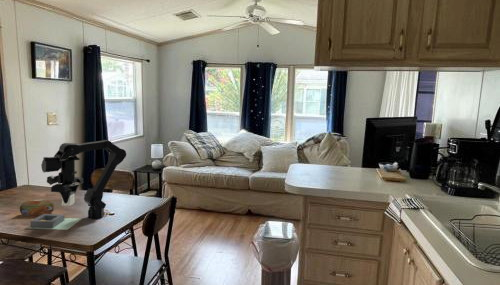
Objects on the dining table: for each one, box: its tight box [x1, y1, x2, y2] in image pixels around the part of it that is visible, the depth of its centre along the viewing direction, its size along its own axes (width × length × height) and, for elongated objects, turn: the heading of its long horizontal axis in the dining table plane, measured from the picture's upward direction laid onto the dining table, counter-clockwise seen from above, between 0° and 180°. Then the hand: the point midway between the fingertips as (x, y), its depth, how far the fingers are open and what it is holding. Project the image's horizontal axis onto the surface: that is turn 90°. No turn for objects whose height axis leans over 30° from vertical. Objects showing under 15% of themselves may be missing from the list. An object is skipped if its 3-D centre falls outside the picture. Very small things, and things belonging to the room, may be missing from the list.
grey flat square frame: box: [30, 213, 65, 229], centre depth 151 cm, size 10×10×3 cm
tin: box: [19, 199, 55, 217], centre depth 162 cm, size 15×3×8 cm, turn 105°
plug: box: [61, 191, 76, 207], centre depth 151 cm, size 4×4×6 cm
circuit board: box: [27, 217, 82, 231], centre depth 153 cm, size 18×14×1 cm
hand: (68, 201), depth 152 cm, fingers closed on plug, 4 cm apart
